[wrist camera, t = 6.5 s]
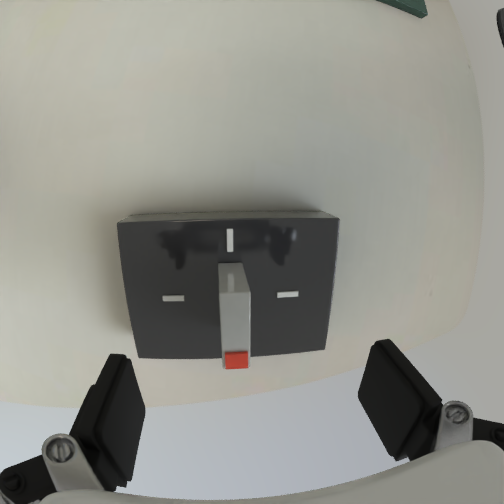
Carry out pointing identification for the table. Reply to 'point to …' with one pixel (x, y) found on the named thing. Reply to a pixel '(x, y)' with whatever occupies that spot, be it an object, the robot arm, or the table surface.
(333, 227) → the lever switch base
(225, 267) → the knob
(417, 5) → the control block
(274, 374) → the table surface
